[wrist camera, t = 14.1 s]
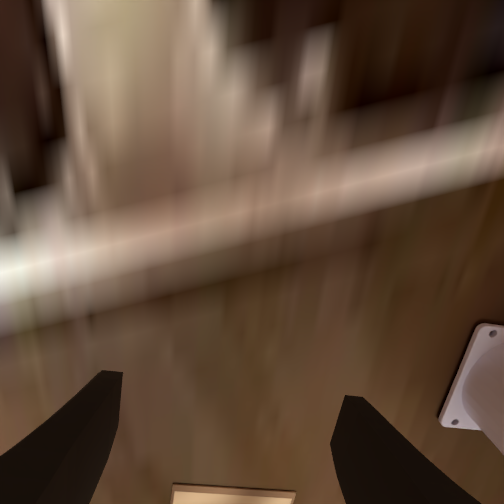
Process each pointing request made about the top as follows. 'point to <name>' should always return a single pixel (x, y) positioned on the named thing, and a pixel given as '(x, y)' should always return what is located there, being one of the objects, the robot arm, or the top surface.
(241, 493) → the board
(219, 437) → the top surface
